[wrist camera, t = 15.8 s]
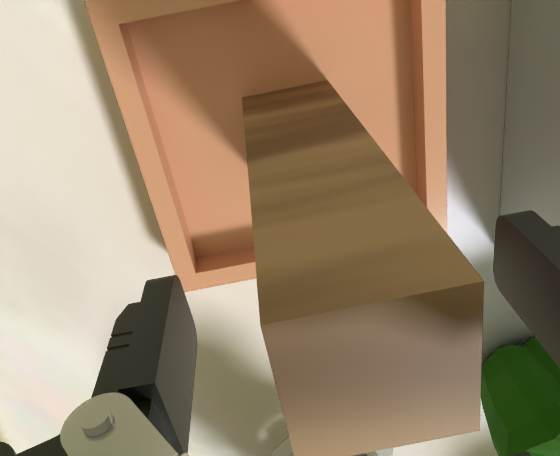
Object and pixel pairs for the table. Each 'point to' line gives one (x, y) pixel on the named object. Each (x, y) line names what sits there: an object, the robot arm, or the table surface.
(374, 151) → the walnut stick
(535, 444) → the bell pepper
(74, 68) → the table surface
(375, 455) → the french press
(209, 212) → the terracotta tray
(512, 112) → the grey tub
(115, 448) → the robot arm
